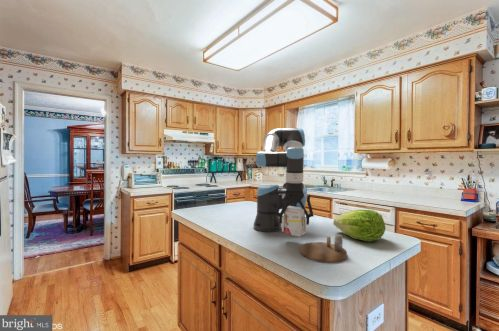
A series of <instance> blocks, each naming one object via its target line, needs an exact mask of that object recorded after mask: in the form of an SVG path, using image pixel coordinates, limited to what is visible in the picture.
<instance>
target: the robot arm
mask: <svg viewBox="0 0 499 331" xmlns="http://www.w3.org/2000/svg"><path fill="white" fill-rule="evenodd" d="M262 142H263V146H262V150H261V151H257V152H256V157H255V161H256V162H255V164H256V166H257V167H259V168H260V167H261V168H262V167H263V168H285V182H284V183H283V184H282V187H280V185H278V184H266V185H261V186H259V187H258V188H257V190H256V191H257V193H256V198H257V199H256V215H255V218H254V222H253V229H254V230H256V231H259V232H265V233H266V232H268V233H270V232H272V233H273V232H278V231H280V230H281V232H284V212H285V210H286V209H287V207H288V206H294V207H299V208H302V209H304V213H305V229H304V234H307V231H308V230H307V227H308V226H309V225H310V218H312V217H314V212H313V207H312V203H311V195H310V194H309V193H308V188H306V187H305V185H304V183H303V182H304V165H305V164H304V162H305V160H304V157H305V152H304V147H305V146H306V136H305V131H304V129H303V128H301V127H293V128H292V127H278V128H273V129H271V130H270V131H268V132H267V133H265V135H264V137H263V141H262ZM278 147H281V148H282V147H283V150H284V151H277V149H278ZM306 203H307V206H308V211H309V212H308V211H307V209H306ZM280 210H281V211H280Z"/></svg>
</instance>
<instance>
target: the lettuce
mask: <svg viewBox="0 0 499 331" xmlns="http://www.w3.org/2000/svg"><path fill="white" fill-rule="evenodd" d="M332 223H333V224H332V225H334V227H336V228H337V229H338V230H340V231H341V232H342V233H343V234H345V235H347V236H349V237H351V238H353V239H355V240H361V241H364V242H367V243H368V242H369V243H371V242H375V241H377V240H379V239H381V238H382V237H383V236H384V235H385V232H386V225H385V221H384V218H383V216H382V214H380V213H379V212H377V211H376V210H373V209H355V210H351V211H347V212H344V213H342V214H339V215H337V216H336V217H335V218H333V221H332Z"/></svg>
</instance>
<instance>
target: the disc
mask: <svg viewBox="0 0 499 331" xmlns="http://www.w3.org/2000/svg"><path fill="white" fill-rule="evenodd" d="M343 236H344V235H343V234H334V243H331V242H332V237H331V236H330V235H328V236H326V242H323V241H322V242H321V241H311V242H305V243H302V244H301V245H300V247H299V253H300V254H301V255H302V256H303V257H304V258H306V259H308V260H311V261H314V262H319V263H329V264H330V263H333V264H335V263H339V262H343V261H345V260H346V259H347V258H348V253H347V250H346V249H345V248H344V247H343V241H344V240H343Z"/></svg>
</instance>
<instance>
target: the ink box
mask: <svg viewBox="0 0 499 331" xmlns="http://www.w3.org/2000/svg"><path fill="white" fill-rule="evenodd" d="M283 216H284V232H283V234H287V235H290V236H294V237H301V236H303V235H305V232H304V229H305V217H306V215H305V213H304V209H302V208H299V207H294V206H288V207H287V209H286V210H285V212H284V214H283Z"/></svg>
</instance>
